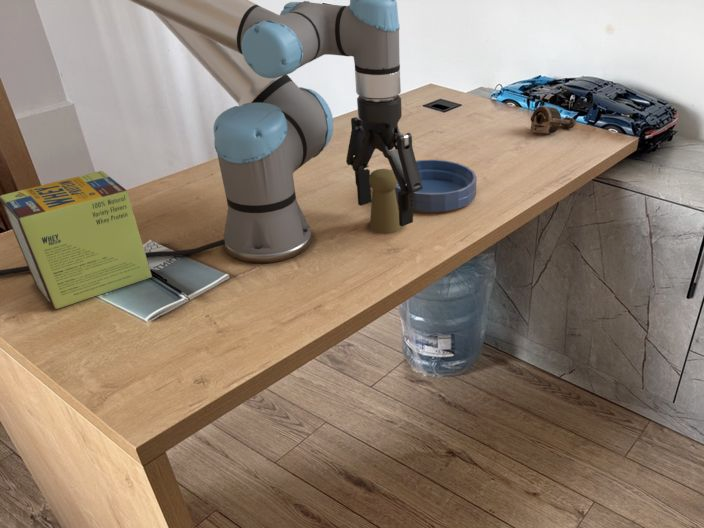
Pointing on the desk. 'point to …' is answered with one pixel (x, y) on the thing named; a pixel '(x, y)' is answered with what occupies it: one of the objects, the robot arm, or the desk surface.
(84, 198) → the protein box
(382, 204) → the olive peg doll
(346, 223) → the desk surface
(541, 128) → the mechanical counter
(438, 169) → the bowl
